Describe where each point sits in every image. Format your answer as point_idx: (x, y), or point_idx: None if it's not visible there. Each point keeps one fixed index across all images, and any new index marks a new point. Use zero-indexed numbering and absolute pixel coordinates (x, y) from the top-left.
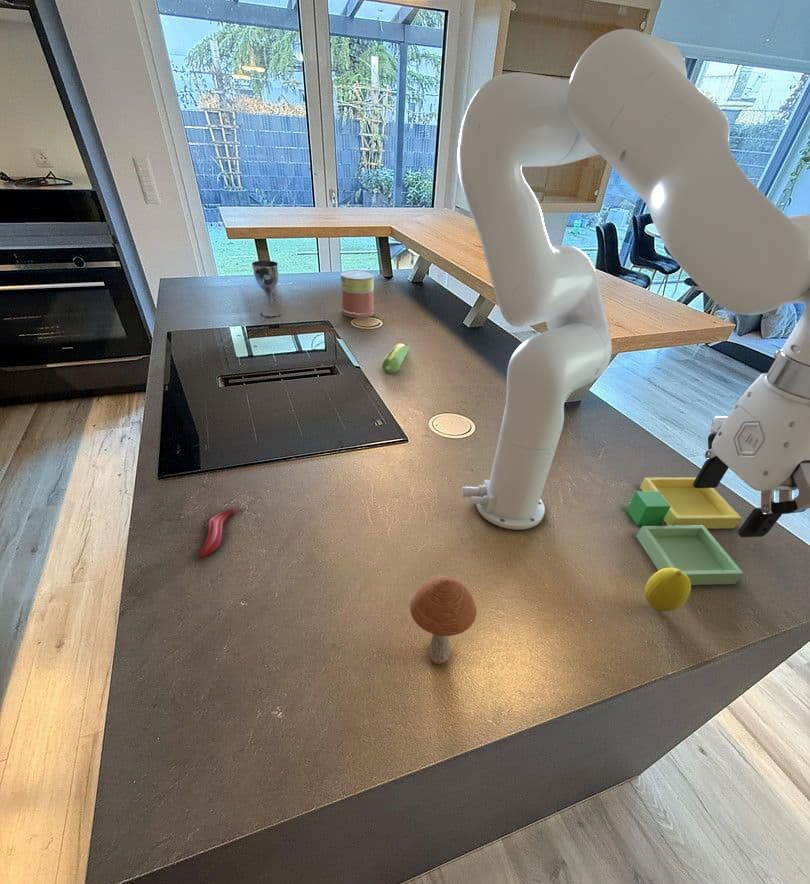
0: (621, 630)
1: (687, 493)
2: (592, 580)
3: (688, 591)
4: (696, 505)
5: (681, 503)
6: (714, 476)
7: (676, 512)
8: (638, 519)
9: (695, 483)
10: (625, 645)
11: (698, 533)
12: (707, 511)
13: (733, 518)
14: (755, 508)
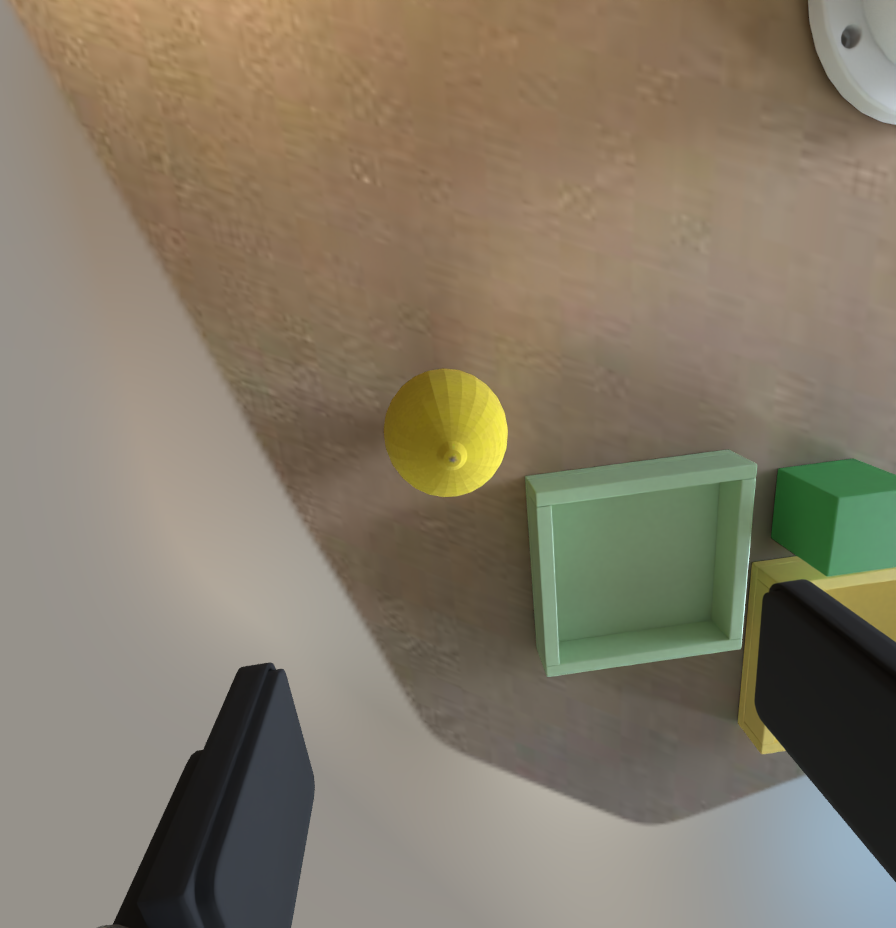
0: (338, 274)
1: None
2: (539, 237)
3: (403, 476)
4: None
5: None
6: (830, 737)
7: None
8: (798, 473)
9: (800, 594)
10: (283, 269)
11: (717, 626)
12: None
13: (761, 734)
14: (184, 893)
